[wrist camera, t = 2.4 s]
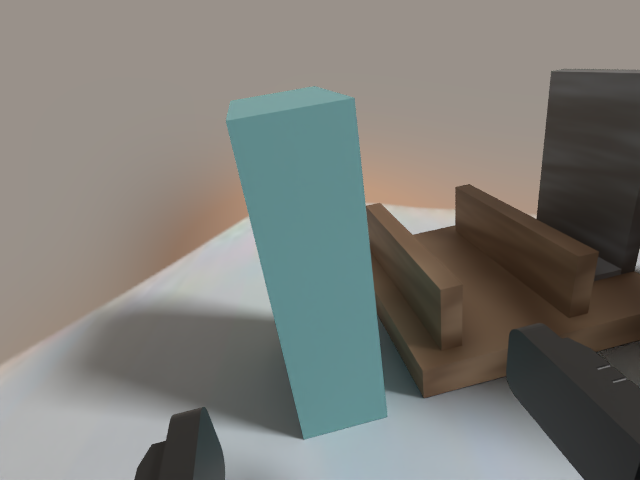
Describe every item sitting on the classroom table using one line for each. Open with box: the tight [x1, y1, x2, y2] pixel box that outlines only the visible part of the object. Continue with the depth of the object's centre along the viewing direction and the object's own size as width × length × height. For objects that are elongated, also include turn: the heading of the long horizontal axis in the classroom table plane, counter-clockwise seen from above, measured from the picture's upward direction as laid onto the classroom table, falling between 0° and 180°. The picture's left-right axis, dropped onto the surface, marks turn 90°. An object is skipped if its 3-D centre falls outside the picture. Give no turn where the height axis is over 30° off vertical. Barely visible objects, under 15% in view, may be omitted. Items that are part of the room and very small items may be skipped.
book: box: [226, 86, 387, 439], centre depth 21 cm, size 4×8×16 cm, turn 11°
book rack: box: [366, 69, 640, 398], centre depth 26 cm, size 16×15×14 cm
